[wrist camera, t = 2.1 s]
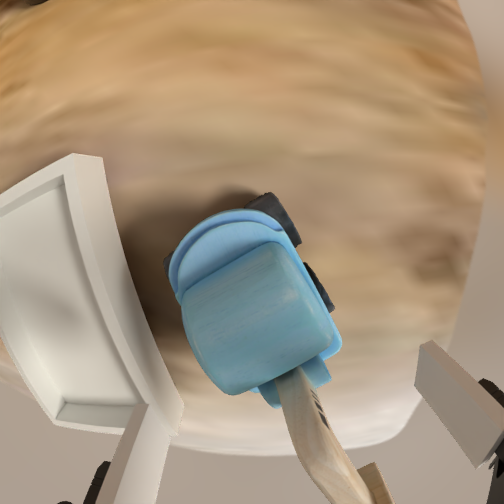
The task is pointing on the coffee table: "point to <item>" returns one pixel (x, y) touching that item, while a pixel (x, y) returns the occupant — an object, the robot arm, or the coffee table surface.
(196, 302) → the toy excavator
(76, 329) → the white tray
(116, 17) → the coffee table surface
